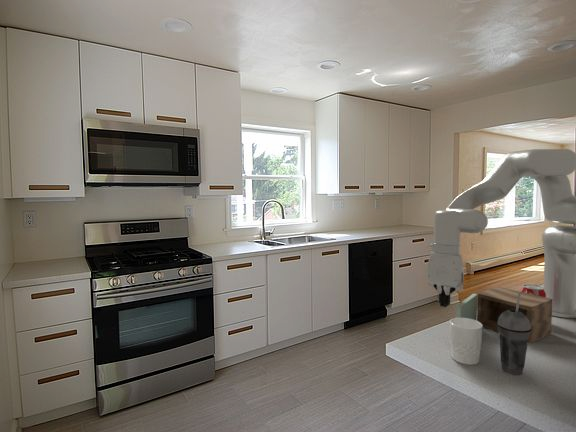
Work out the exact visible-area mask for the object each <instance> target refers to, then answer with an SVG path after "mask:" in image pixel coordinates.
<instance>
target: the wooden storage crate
mask: <svg viewBox="0 0 576 432" xmlns="http://www.w3.org/2000/svg"><path fill="white" fill-rule="evenodd" d="M518 293H521V295H520V302H519V309H518V311H520V312H522V313H523V314H524V315H525V316H526V317H527V318H528V320H529V322H530V325H531V331H530V336H529V338H528V344H530V345H531V344H532V343H535V342H537V341H538V340H541V339H543V338H545V337H546V336H549V335H551V334H552V318H553V316H552V300H553V299H550V298H545V297H541V296H537V295H532V294H528V293H524V292H521V291H518V290H514V289H509V288H505V287H501V286H498V287H494V288H490V289H488V290H484V291H480V292H478V293H477V321H478V322H480V323H481V324H482V325H483V327H482V329H486V330H488V331H491V332H494V333H498V334H499V332H498V326H497V322H498V318H499V316H500V315H501V314H502V313H503V312H504V311H507V310H516V305H517V299H518Z"/></svg>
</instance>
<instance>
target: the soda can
mask: <svg viewBox="0 0 576 432" xmlns="http://www.w3.org/2000/svg"><path fill="white" fill-rule="evenodd" d="M520 292H524V293H528V294H532V295H537V296H541V297H545V298H546V293H545V291H544V288H543V286H541V285H538V284H523V286H522V288H521V291H520Z"/></svg>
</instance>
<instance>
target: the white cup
mask: <svg viewBox="0 0 576 432" xmlns="http://www.w3.org/2000/svg"><path fill="white" fill-rule="evenodd" d="M482 327H483V325H482V324H481V323H480V322H478V321H476V320H473V319H469V318H455V317H453V318H451V319H449V340H450V341H449V342H450V356H451V359H453V361H455V362H456V363H460V364H463V365H470V366H471V365H477V364H479V362H480V354H481V347H482V339H483V338H482V337H483V328H482Z"/></svg>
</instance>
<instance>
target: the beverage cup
mask: <svg viewBox="0 0 576 432" xmlns="http://www.w3.org/2000/svg"><path fill="white" fill-rule="evenodd" d="M520 295H521V293H518V299H517V305H516V310H507V311H504V312H503V313H502V314H501V315H500V316H499V318H498V322H497V326H498V332H499V333H498V338H499V339H498V340H499V353H500V363H501V370H502V372H504V373H506V374H508V375H512V376H517V377H518V376H522V375H523V373H524V369H525V363H526V357H527V356H526V355H527V350H528V344H529V343H528V338H529V336H530V331H531V325H530V322H529V320H528V318H527V317H526V316H525V315H524V314H523V313H522V312H520V311H518V309H519V302H520Z"/></svg>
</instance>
